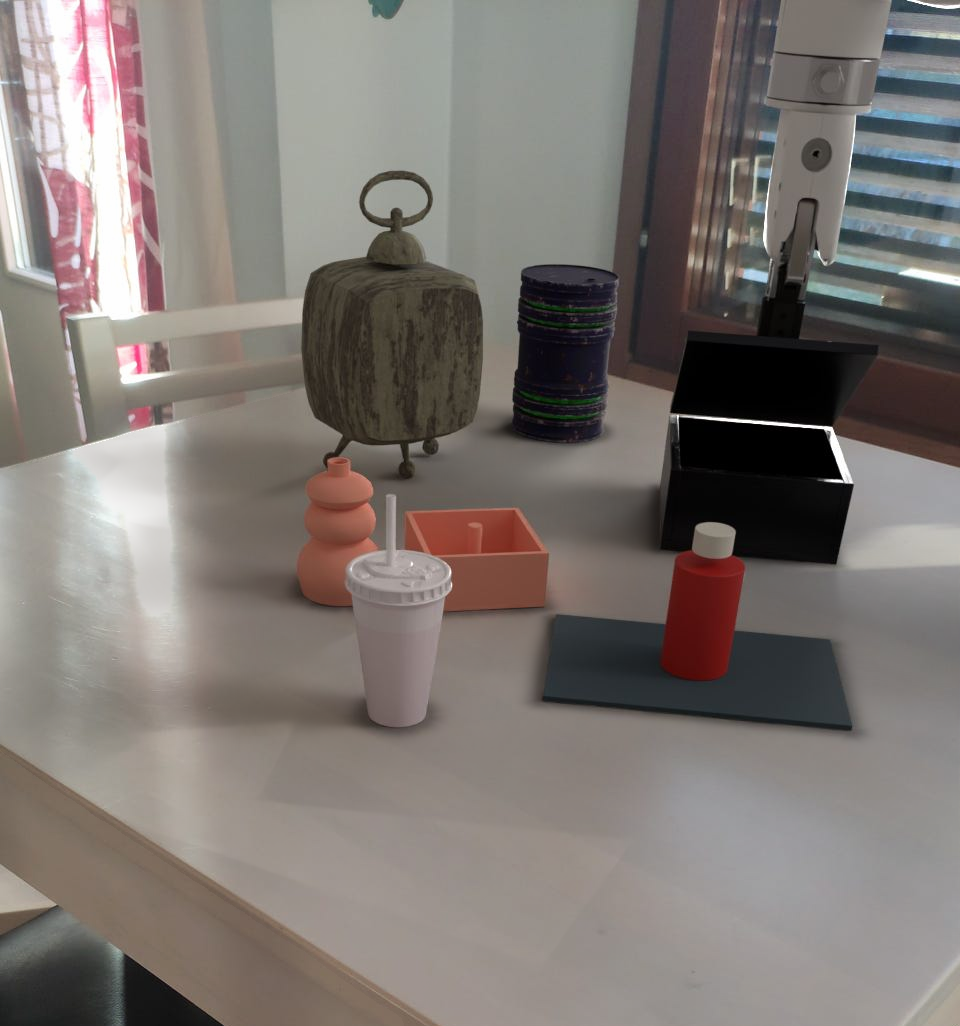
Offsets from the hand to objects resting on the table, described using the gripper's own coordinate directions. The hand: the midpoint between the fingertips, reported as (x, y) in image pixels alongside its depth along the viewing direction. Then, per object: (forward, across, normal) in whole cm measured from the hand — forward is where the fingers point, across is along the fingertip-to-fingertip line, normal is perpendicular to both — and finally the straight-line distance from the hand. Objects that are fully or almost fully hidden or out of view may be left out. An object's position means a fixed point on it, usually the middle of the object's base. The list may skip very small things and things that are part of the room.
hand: (774, 352), depth 101 cm
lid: (+3, +3, 0) cm, 4 cm away
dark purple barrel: (+15, +26, +18) cm, 35 cm away
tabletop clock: (+15, +8, +32) cm, 36 cm away
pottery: (+15, -18, +26) cm, 35 cm away
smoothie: (+15, -38, +24) cm, 47 cm away
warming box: (+15, +2, 0) cm, 15 cm away
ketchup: (+14, -28, +5) cm, 32 cm away
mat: (+15, -28, +5) cm, 32 cm away
